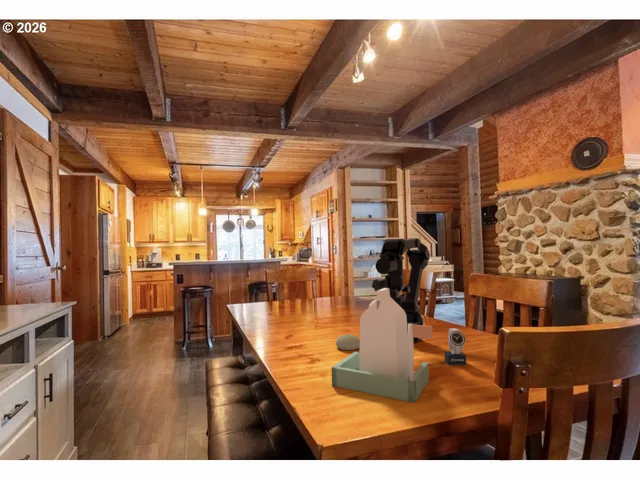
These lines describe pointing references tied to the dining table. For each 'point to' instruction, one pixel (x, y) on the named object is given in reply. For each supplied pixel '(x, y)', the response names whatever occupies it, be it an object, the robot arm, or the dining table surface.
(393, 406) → the dining table surface
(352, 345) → the sea urchin shell
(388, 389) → the corral
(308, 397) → the dining table surface
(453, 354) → the watch
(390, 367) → the milk
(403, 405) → the dining table surface
